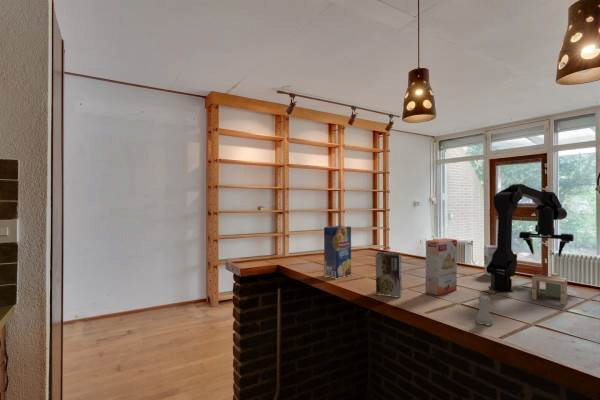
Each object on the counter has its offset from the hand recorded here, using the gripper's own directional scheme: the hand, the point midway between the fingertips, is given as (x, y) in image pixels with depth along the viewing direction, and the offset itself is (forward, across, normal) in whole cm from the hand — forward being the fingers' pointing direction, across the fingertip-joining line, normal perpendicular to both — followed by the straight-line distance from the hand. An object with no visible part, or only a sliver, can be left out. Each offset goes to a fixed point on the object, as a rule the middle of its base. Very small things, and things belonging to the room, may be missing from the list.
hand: (545, 255), depth 141 cm
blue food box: (+12, +76, +52) cm, 92 cm away
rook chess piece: (+12, +8, +70) cm, 72 cm away
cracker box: (+12, +29, +45) cm, 55 cm away
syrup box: (+12, +21, 0) cm, 24 cm away
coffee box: (+12, +42, +63) cm, 77 cm away
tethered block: (+12, -4, +16) cm, 20 cm away
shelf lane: (+12, -4, +28) cm, 31 cm away
